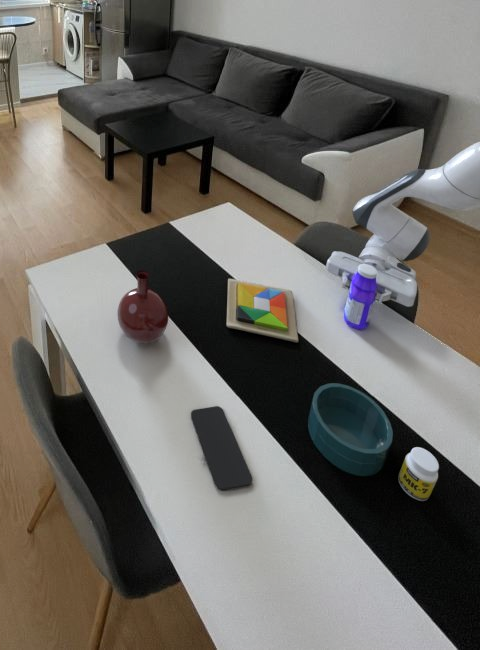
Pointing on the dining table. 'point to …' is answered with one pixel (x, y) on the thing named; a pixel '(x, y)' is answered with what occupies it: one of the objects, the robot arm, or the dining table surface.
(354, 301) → the bottle
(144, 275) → the round-bottom flask
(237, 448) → the phone
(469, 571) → the dining table surface
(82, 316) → the dining table surface
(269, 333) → the wooden puzzle
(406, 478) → the supplement bottle
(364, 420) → the teal bowl
